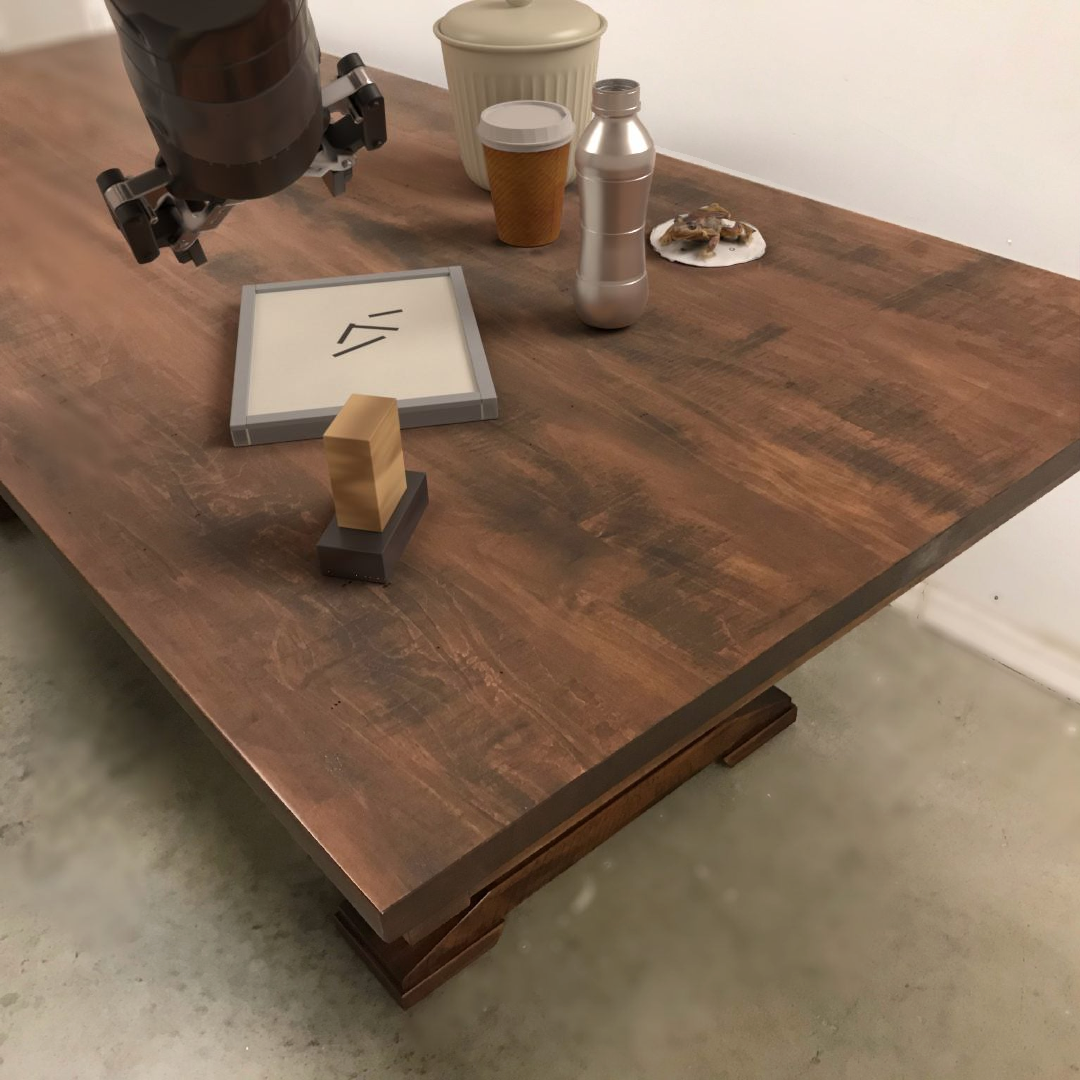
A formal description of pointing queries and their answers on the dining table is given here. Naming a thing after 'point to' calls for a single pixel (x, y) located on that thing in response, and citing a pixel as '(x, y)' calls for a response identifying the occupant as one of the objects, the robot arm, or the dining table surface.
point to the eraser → (369, 492)
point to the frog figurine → (707, 239)
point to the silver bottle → (613, 207)
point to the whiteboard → (357, 353)
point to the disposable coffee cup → (527, 167)
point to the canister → (518, 64)
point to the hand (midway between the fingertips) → (262, 214)
